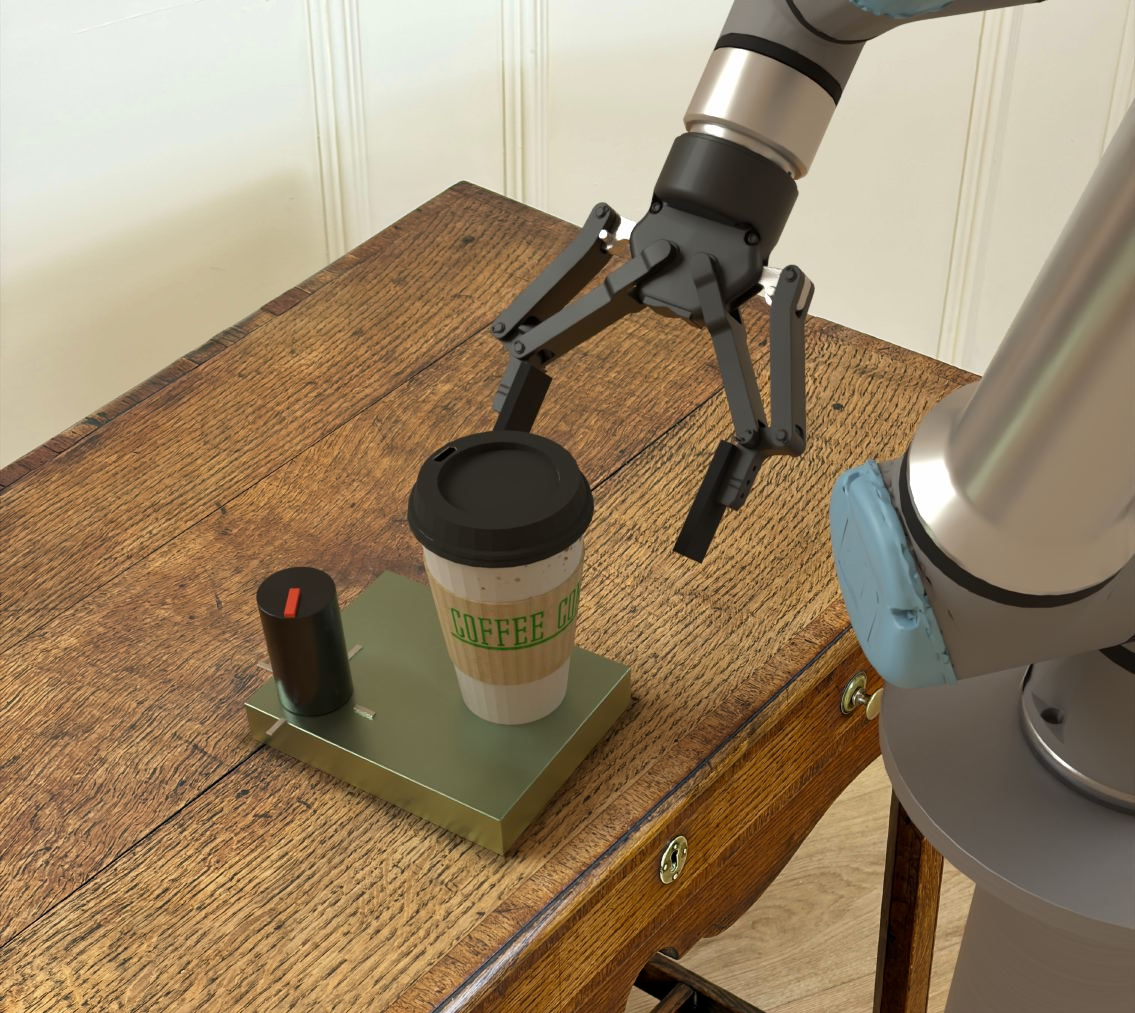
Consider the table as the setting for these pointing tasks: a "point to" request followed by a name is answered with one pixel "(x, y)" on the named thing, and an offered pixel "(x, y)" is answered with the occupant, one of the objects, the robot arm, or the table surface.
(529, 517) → the coffee cup
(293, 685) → the knob
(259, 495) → the table surface
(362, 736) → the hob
